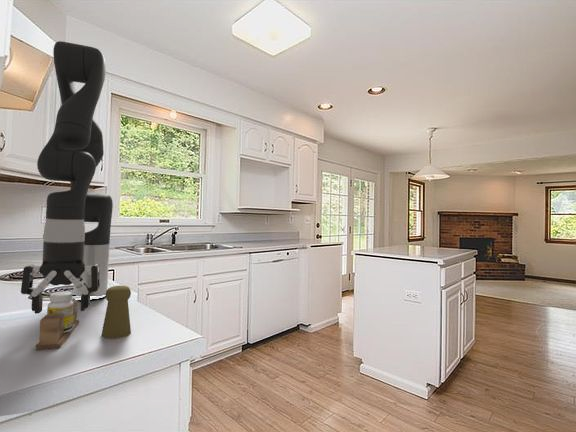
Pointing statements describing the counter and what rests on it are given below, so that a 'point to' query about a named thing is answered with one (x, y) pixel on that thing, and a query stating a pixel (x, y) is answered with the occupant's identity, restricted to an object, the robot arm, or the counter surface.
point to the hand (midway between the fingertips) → (61, 311)
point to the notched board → (55, 329)
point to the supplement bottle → (62, 307)
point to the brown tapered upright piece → (117, 313)
